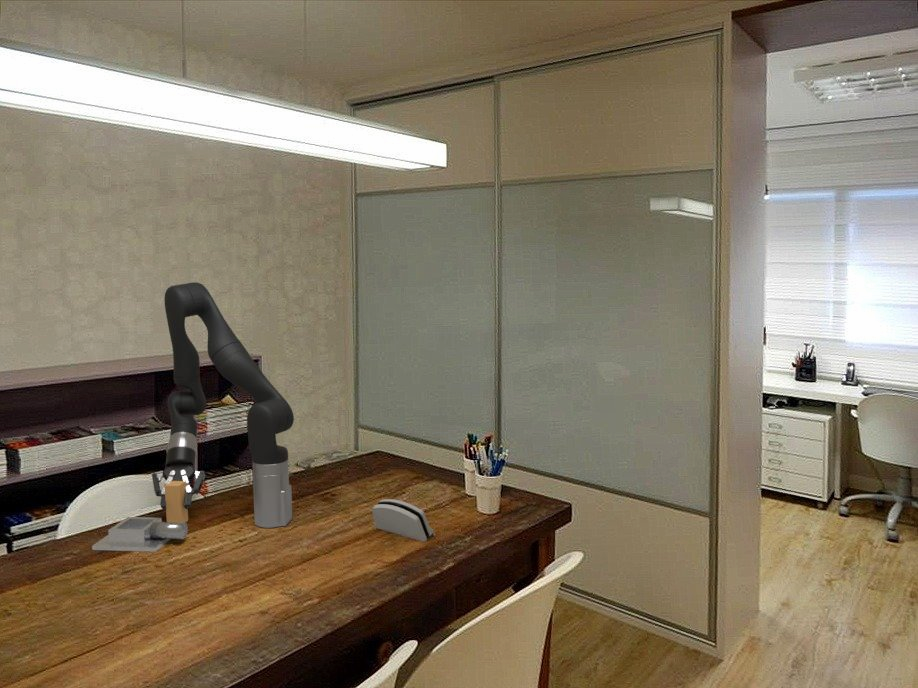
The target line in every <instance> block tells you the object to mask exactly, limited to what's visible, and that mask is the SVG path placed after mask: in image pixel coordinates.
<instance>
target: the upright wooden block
mask: <svg viewBox="0 0 918 688" xmlns="http://www.w3.org/2000/svg"><path fill="white" fill-rule="evenodd" d="M164 485H165V484H164ZM185 493H187V491H186V481H171V482H169V483H168V484H166V485H165V501H166V510H165V513H166V514H165V516H166V522H179V523H187V522H188V521H189V511H188V509H189V508H188V509H185V507H184V503H185Z"/></svg>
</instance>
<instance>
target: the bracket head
mask: <svg viewBox="0 0 918 688" xmlns="http://www.w3.org/2000/svg"><path fill="white" fill-rule="evenodd" d="M188 530H189V528H188V523H187V522H186V523H179V522H167V521H163V520H162V517H150V516H149V517H144V516H143V517H142V516H140V517H139V516H137V517H136V516H127V517H126V518H124V519H123V520H120V521H119V522H118V523H117V524H115V525H114V526H112V527H111V528H110V529H109V528H108V530H107V532H108V534H107V535H105V536H104V537H103V538H102V539H99V540H98V541H97V542H96V543H94V544H93V545H92V546H91V550H92V551H121V552H153V553H154V552H155V553H156V552H158V551H159V550H160V549H161V548H162V547H163V546H165V544H167V543H168V542H169V541H170V540H185V538H186V537H187V535H188Z"/></svg>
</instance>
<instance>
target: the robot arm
mask: <svg viewBox="0 0 918 688" xmlns="http://www.w3.org/2000/svg"><path fill="white" fill-rule="evenodd" d="M163 302H164V309H165V314H166V320H167V321H166V322H167V327H168V332H169V337H170V342H171V346H172V356H173V357H172V358H173V382H174V384H175V385H177V386H179V387H182V388H186V389H188V390H175V391H172V392H171V393H170V394H169V396H168V397H167V409H168V411H169V415H170V425H171V426H170V434H169V440H168V443H167V450H166V451H167V452H166V457H165V466H164V470H163V471H162V472H161V473H156V472H153V473H152V474H151V477H152V478H151V479H152V485H153V490H154V493H155V496H156V497H160V503H159V505H160V508H161V509H162V510H163V511H166V501H165V485H166V484H168V483H169V482H171V481H186V491H187V493H185V503H184V507H185V509H189V508H190V507H191V506H192V501H193V500H192V499H193V496H194V495H199V494H200V492H201V490H202V488H203V484H204V481H205V479H206V472H205V471H204V470H200V471H198V470H196V469H195V464H196V454H197V435H198V433H197V432H198V421H197V420H196V419H195V418H193V417H190V416H199V415H202V414H203V413H204V412H205V410H206V408H207V399H206V396H205V393H204V390H203V387H202V384H201V377H200V375H201V373H200V369H201V368H200V367H201V366H200V363H201V362H200V356H199V352H198V350H197V348H196V347H195V345H194V343H193V342H192V340H190V337H189V336H188V334H187V331H186V325H185V323H186V318H189V317H193V316H198V317H199V319H201V321H202V322H203V324H204V325H205V328H206V330H207V354H208V357H209V359H210V361H211V362H212V364H213V366H215V368H216V370H217V371H218V372H219V374H220V375H221V376H222V377H223V378H224V379H225V380H227V381H229V382H230V383H231V384H233V385H235V386H236V387H237V388H239V389H241V390H243V391H244V392H245V393H246V394H248V395H249V396H250V397H251V398H252V399H253V400H254V401H255V403H254V404H253V405H251V406H250V408H249V410H248V412H247V415H246V427H247V437H248V448H249V452H250V454H251V458H252V483H253V484H252V485H253V509H254V510H253V512H254V514H253V518H254V524H255V526H256V527H260V528H265V529H270V528H271V529H272V528H280V527H286V526H287V525H289V522H291V520H292V519H293V503H292V502H293V494H292V484H290V481H289V479H290V478H289V476H290V474H289V472H290V471H289V451H288V448H287V447H285V446H282V445H279V444H278V443H277V436H276V435H278V434H281V433H283V432H286V431H288V430H290V429H291V428H292V426H293V425H294V421H295V419H294V413H293V410H292V407H291V405H290V404H289V402H288V401H287V400H286V399H285V397H283V395H281V393H280V392H279V391H278V390H277V389H276V388H275V387H274V386H273V384H272V383H271V382H270V381H269V379H268V378H267V376H265V374H264V373H263V371H262V370H261V369H260V368H259V366H258V365H257V364H256V362H255V361H254V359H253V358H252V356H251V355H250V354H249V352H248V350H247V348H246V347H245V346H244V345H243V343H242V342H241V340H240V339H239V338H238V337H237V336H236V334H235V333H234V331H233V330H232V328H231V327H230V325H229V323H228V322H227V321H226V319H225V318H224V316H223V314H222V312H221V311H220V309H219V307H218V305H217V304H216V302H215V300H214V298H213V296H212V295H211V293H210V292H209V290H208V289H207V288H206V287H205V285H204V284H203V283H200V282H196V281H195V282H188V283H181V284H175V285H171V286H169V287H168V288H167V289H166V290H165V293H164V300H163ZM194 477H195V479H196V481H195V484H194V487H191V485H190V482H191V481H192V480H193V479H194ZM163 478H164V480H165V483H164V485H163V488H162V489H161V486H160V483H161V482H162V480H163Z"/></svg>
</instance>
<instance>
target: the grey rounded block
mask: <svg viewBox="0 0 918 688" xmlns="http://www.w3.org/2000/svg"><path fill="white" fill-rule="evenodd" d="M371 510H372V517H373V523H374V528H375V529H379V530H382V531H384V532H389V533H391V534H396V535H399V536H402V537H406V538H409V539H413V540H416V541H420V542H423V543H424V542H426V541H427V540H428V537H431V536H432V537H435V536H436V534H435V530H434V529H433V528H431V527H430V523H429V521H428V519H427V516H426V513H425V511H424V510H422V509H420V508H419V507H417V506H415V505H413V504H410V503H409V502H405V501H403V500H398V499H393V498H389V499H388V498H387V499H381V500H380V501H378V502H377V504H374V506H373V507H372V509H371Z"/></svg>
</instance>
